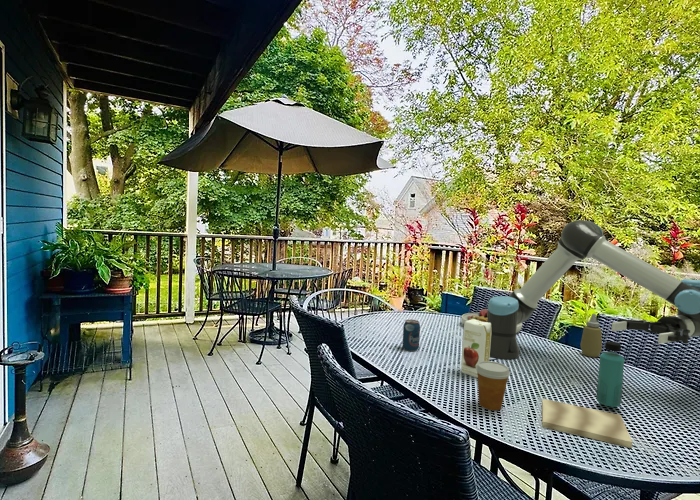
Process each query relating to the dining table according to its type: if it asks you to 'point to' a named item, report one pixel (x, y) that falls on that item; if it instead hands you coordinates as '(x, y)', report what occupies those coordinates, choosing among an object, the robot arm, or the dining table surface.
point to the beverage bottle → (610, 376)
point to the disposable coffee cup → (492, 384)
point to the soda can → (411, 335)
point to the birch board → (585, 422)
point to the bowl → (482, 318)
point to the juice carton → (475, 345)
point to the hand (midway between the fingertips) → (635, 332)
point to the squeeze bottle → (591, 338)
